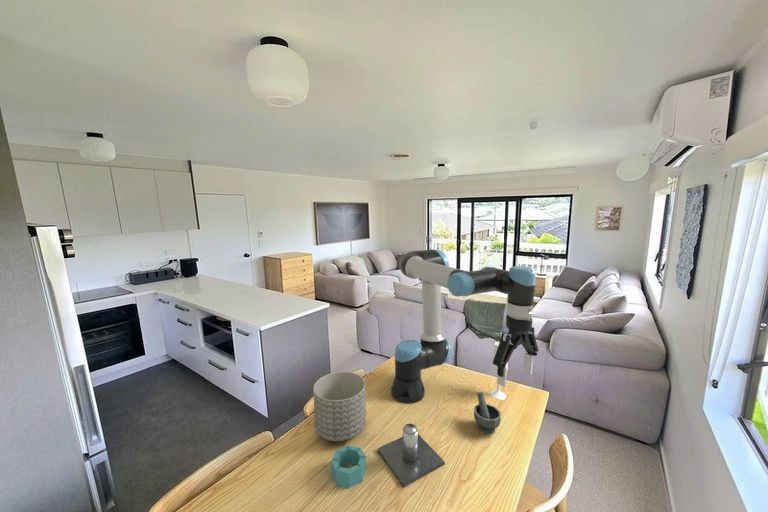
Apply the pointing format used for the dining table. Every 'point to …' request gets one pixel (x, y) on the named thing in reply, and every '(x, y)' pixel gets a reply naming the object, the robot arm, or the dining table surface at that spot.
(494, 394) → the champagne flute
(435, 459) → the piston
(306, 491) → the dining table surface
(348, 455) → the ring
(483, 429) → the mortar and pestle
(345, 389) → the planter
